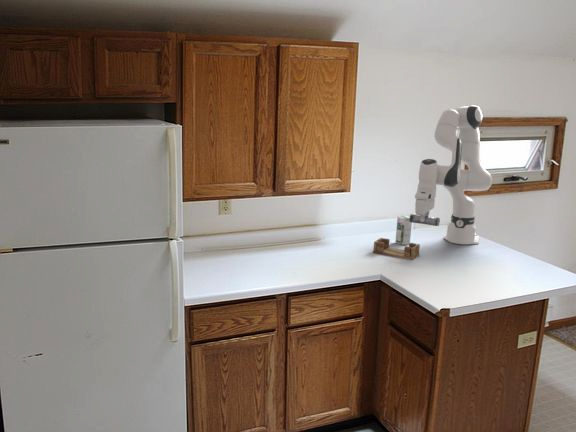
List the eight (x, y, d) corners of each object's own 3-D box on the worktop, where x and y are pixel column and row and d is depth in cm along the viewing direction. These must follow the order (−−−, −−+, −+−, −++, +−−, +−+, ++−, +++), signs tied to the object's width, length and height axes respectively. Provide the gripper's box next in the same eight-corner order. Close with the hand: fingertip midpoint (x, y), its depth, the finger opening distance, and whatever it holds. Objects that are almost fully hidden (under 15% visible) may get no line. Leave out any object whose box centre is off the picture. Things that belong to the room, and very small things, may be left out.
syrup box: (394, 242, 308) (396, 215, 305) (404, 241, 311) (406, 215, 307) (401, 245, 303) (403, 218, 300) (410, 244, 306) (412, 217, 302)
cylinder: (411, 221, 290) (412, 213, 289) (439, 225, 284) (440, 217, 283) (409, 222, 287) (409, 214, 286) (437, 226, 280) (437, 218, 279)
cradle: (380, 248, 297) (381, 237, 296) (419, 254, 288) (420, 244, 286) (373, 252, 289) (373, 242, 288) (412, 260, 279) (413, 249, 278)
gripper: (426, 188, 292) (424, 215, 295) (413, 195, 274) (411, 223, 278) (438, 190, 289) (436, 217, 292) (426, 197, 271) (424, 225, 275)
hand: (424, 220), depth 285 cm, fingers closed on cylinder, 4 cm apart
